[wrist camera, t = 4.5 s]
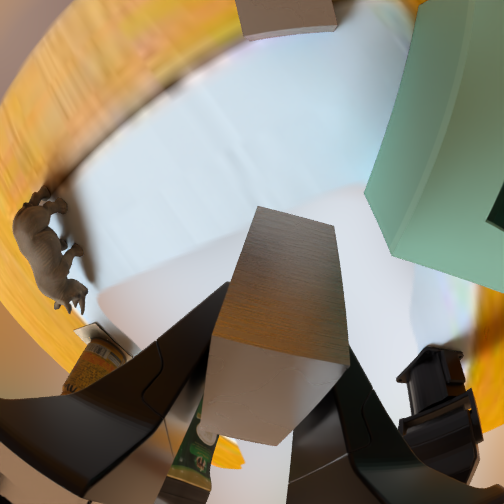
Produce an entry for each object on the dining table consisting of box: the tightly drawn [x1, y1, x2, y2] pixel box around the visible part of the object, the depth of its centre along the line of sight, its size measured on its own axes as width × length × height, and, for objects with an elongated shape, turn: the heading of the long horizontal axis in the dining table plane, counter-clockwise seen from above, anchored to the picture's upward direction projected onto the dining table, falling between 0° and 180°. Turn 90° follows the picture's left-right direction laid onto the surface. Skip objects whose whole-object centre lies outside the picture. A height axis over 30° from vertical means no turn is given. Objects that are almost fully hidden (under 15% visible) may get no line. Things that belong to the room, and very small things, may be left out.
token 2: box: [200, 206, 350, 446], centre depth 8 cm, size 5×2×5 cm, turn 169°
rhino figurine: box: [13, 186, 88, 315], centre depth 23 cm, size 4×14×6 cm, turn 6°
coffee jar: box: [154, 393, 219, 504], centre depth 25 cm, size 10×8×19 cm
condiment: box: [61, 323, 132, 395], centre depth 30 cm, size 7×8×12 cm
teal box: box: [364, 0, 504, 293], centre depth 11 cm, size 14×12×7 cm
